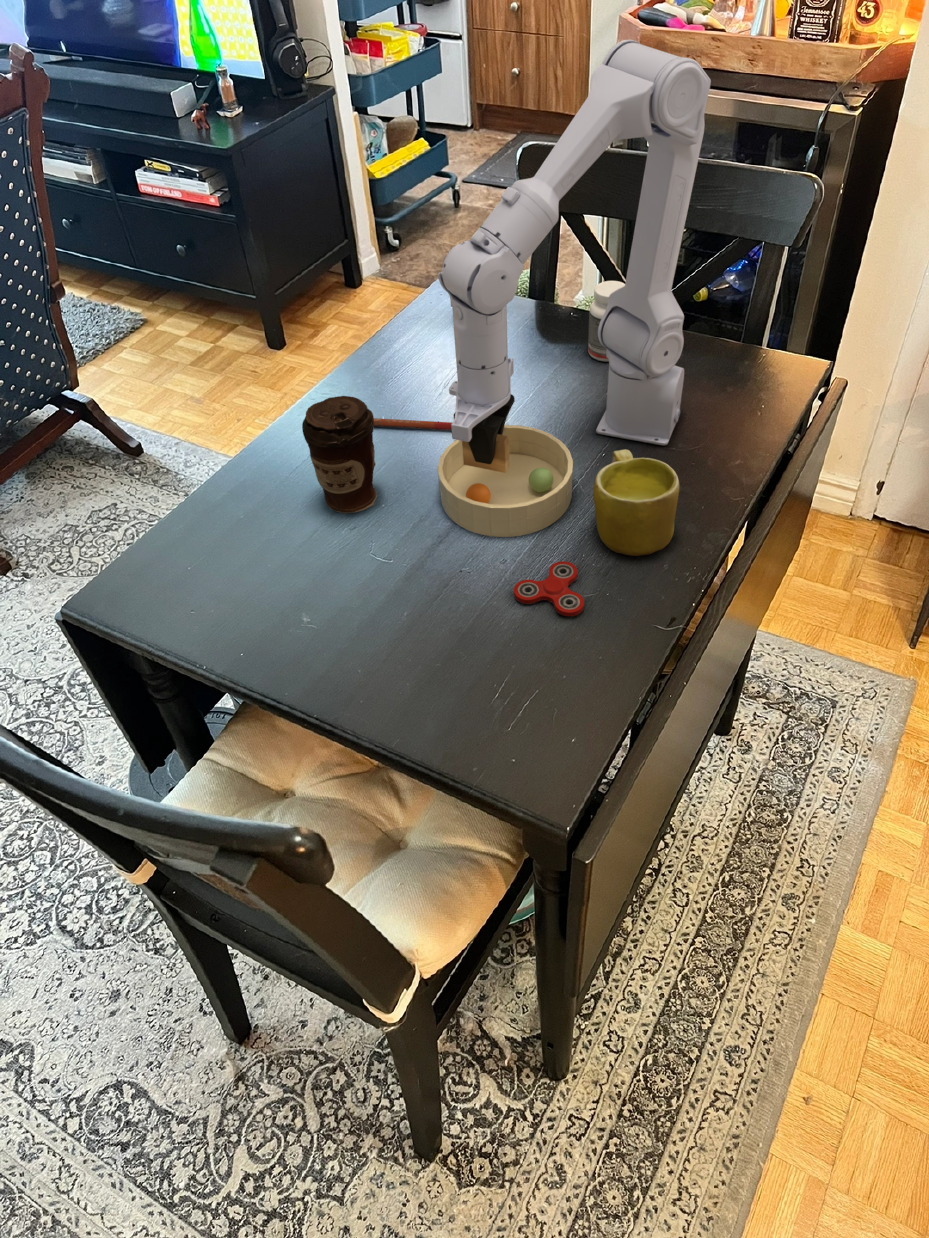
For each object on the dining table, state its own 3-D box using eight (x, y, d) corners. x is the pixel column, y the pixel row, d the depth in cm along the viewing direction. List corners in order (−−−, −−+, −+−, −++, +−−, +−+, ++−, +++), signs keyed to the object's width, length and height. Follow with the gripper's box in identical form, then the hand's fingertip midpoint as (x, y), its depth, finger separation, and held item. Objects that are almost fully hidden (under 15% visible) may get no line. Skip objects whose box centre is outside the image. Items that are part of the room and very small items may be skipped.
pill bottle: (629, 362, 132) (634, 297, 124) (589, 364, 132) (592, 299, 125) (624, 341, 135) (629, 277, 128) (586, 343, 136) (589, 279, 129)
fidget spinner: (509, 601, 100) (509, 592, 99) (535, 558, 105) (535, 550, 104) (577, 622, 97) (577, 613, 96) (601, 577, 102) (602, 569, 101)
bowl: (588, 467, 116) (589, 437, 112) (547, 549, 105) (547, 520, 102) (469, 444, 120) (467, 415, 117) (420, 521, 110) (416, 492, 107)
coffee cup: (374, 525, 110) (358, 436, 101) (309, 519, 112) (287, 431, 102) (392, 480, 116) (379, 392, 107) (330, 475, 118) (312, 388, 108)
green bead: (556, 484, 113) (556, 465, 111) (548, 499, 111) (548, 479, 109) (533, 479, 114) (533, 460, 111) (525, 494, 112) (525, 475, 110)
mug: (696, 554, 101) (675, 477, 95) (606, 576, 104) (581, 502, 98) (687, 501, 110) (667, 428, 105) (604, 523, 113) (582, 453, 108)
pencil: (473, 428, 122) (473, 422, 122) (472, 432, 122) (472, 426, 121) (338, 420, 126) (337, 415, 125) (336, 425, 125) (335, 419, 124)
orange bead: (494, 500, 111) (493, 480, 109) (485, 515, 109) (484, 496, 107) (471, 495, 112) (470, 476, 110) (462, 510, 110) (461, 491, 108)
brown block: (467, 458, 112) (465, 427, 109) (509, 466, 110) (508, 435, 107) (463, 465, 111) (461, 434, 108) (505, 473, 110) (504, 442, 106)
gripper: (472, 318, 106) (477, 417, 115) (422, 385, 97) (432, 486, 106) (529, 327, 103) (530, 427, 113) (484, 395, 95) (489, 498, 104)
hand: (486, 456), depth 110 cm, fingers closed on brown block, 1 cm apart
